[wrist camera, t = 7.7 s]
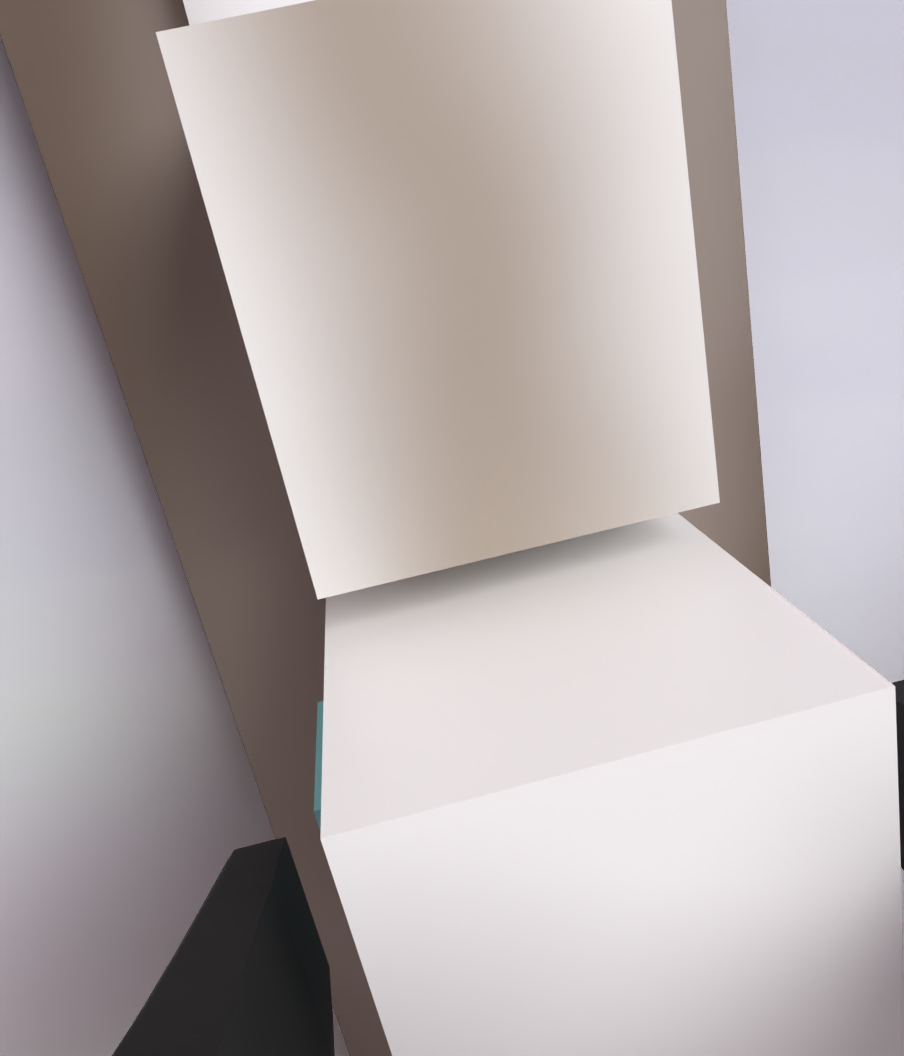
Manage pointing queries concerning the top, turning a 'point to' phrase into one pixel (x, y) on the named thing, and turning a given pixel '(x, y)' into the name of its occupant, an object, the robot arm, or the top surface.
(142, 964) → the top surface
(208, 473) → the rail board
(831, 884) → the block
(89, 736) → the top surface
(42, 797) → the top surface
